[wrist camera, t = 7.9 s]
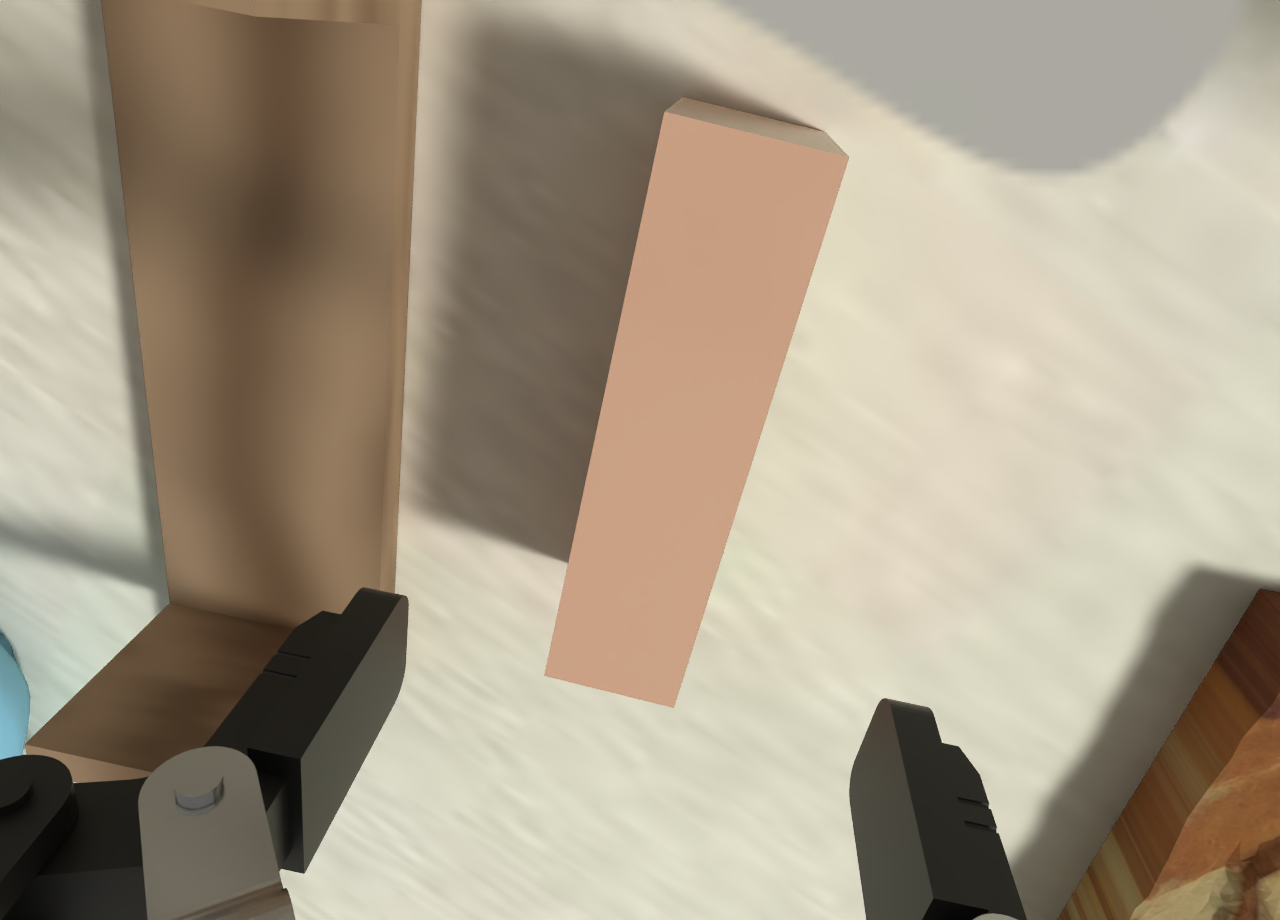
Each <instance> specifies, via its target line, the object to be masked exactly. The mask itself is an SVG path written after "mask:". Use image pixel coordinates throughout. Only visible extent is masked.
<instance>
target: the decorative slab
mask: <svg viewBox="0 0 1280 920" xmlns="http://www.w3.org/2000/svg"><path fill="white" fill-rule="evenodd" d="M1057 920H1280V593H1278V592H1273V591H1267V590H1262V589H1259V591H1258V592H1257V594H1256V596H1255V597H1254V599H1253V601H1252V602H1251V604H1250V606H1249V607H1248V609H1247V610H1246V612H1245V613H1244V615H1243V617H1242V618H1241V620H1240V621H1239V623H1238V625H1237V626H1236V628H1235V630H1234V631H1233V633H1232V634H1231V636H1230V638H1229V639H1228V641H1227V643H1226V644H1225V646H1224V647H1223V649H1222V651H1221V652H1220V654H1219V656H1218V657H1217V659H1216V660H1215V662H1214V664H1213V665H1212V667H1211V669H1210V670H1209V672H1208V673H1207V675H1206V677H1205V678H1204V680H1203V682H1202V683H1201V685H1200V686H1199V688H1198V690H1197V691H1196V693H1195V695H1194V696H1193V698H1192V699H1191V701H1190V703H1189V704H1188V706H1187V708H1186V709H1185V711H1184V712H1183V714H1182V716H1181V717H1180V719H1179V721H1178V722H1177V724H1176V725H1175V727H1174V729H1173V730H1172V732H1171V734H1170V735H1169V737H1168V738H1167V740H1166V742H1165V743H1164V745H1163V747H1162V748H1161V750H1160V751H1159V753H1158V755H1157V756H1156V758H1155V760H1154V761H1153V763H1152V764H1151V766H1150V768H1149V769H1148V771H1147V773H1146V774H1145V776H1144V777H1143V779H1142V781H1141V782H1140V784H1139V786H1138V787H1137V789H1136V790H1135V792H1134V794H1133V795H1132V797H1131V799H1130V800H1129V802H1128V804H1127V805H1126V807H1125V809H1124V810H1123V812H1122V814H1121V815H1120V817H1119V818H1118V820H1117V822H1116V823H1115V825H1114V827H1113V828H1112V830H1111V832H1110V833H1109V835H1108V837H1107V838H1106V840H1105V842H1104V843H1103V845H1102V847H1101V848H1100V850H1099V851H1098V853H1097V855H1096V856H1095V858H1094V860H1093V861H1092V863H1091V865H1090V866H1089V868H1088V870H1087V871H1086V873H1085V875H1084V876H1083V878H1082V880H1081V881H1080V883H1079V885H1078V886H1077V888H1076V890H1075V891H1074V893H1073V894H1072V896H1071V898H1070V899H1069V901H1068V903H1067V904H1066V906H1065V908H1064V909H1063V911H1062V913H1061V914H1060V916H1059V918H1058V919H1057Z"/></svg>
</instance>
